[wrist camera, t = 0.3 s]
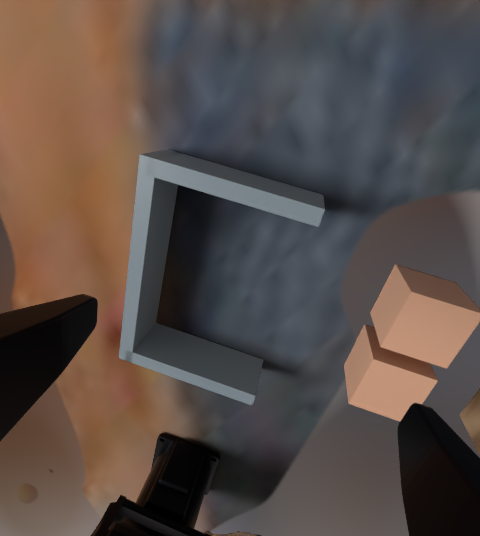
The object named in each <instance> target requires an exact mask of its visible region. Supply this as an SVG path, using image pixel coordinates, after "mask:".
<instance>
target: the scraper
mask: <svg viewBox="0 0 480 536" xmlns="http://www.w3.org/2000/svg"><path fill="white" fill-rule="evenodd" d="M459 415H460V417H461V419H462V421H463V423H464V425H465V427H466V429H467V431H468V433H469V435H470V437H471V439H472V440H473V443H474V445H475V447H476V449H477V451H478V453H479V455H480V389H479V390H478V391H477V393H476V394H475V395H474V397H473V398H472V399H471V401H470V402H469V403H468V404H467V405H466V407H465V408H464V409H463V411H462V412H461V413H460V414H459Z"/></svg>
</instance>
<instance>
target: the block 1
mask: <svg viewBox="0 0 480 536" xmlns="http://www.w3.org/2000/svg"><path fill="white" fill-rule="evenodd" d="M371 316H372V320H373V323H374V327H375V330H376V333H377V337H378V340H379V344H380V347H382V348H385V349H388V350H391V351H394V352H397V353H400V354H403V355H406V356H409V357H412V358H415V359H418V360H421V361H424V362H428V363H431V364H434V365H437V366H440V367H443V368H448V366H449V365H450V364H451V362H452V361H453V359H454V358H455V356H456V355H457V353H458V352H459V351H460V349H461V348H462V346H463V345H464V344H465V342H466V340H467V339H468V338H469V337H470V335H471V334H472V332H473V331H474V329H475V328H476V326H477V325H478V324H479V322H480V309H479V308H478V306H477V305H476V304H475V303H474V302H473V301H472V300H471V299H470V298H469V296H468V295H467V294H466V293H465V292H464V291H463V290H462V289H461V287H460V286H459V285H458V284H457V283H456V282H453V281H449V280H446V279H443V278H439V277H436V276H433V275H430V274H426V273H423V272H420V271H417V270H413V269H410V268H407V267H403V266H400V265H397V264H395V266H394V268H393V270H392V272H391V274H390V275H389V277H388V279H387V282H386V283H385V285H384V287H383V289H382V291H381V293H380V295H379V297H378V299H377V301H376V303H375V305H374V307H373V309H372V311H371Z"/></svg>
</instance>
